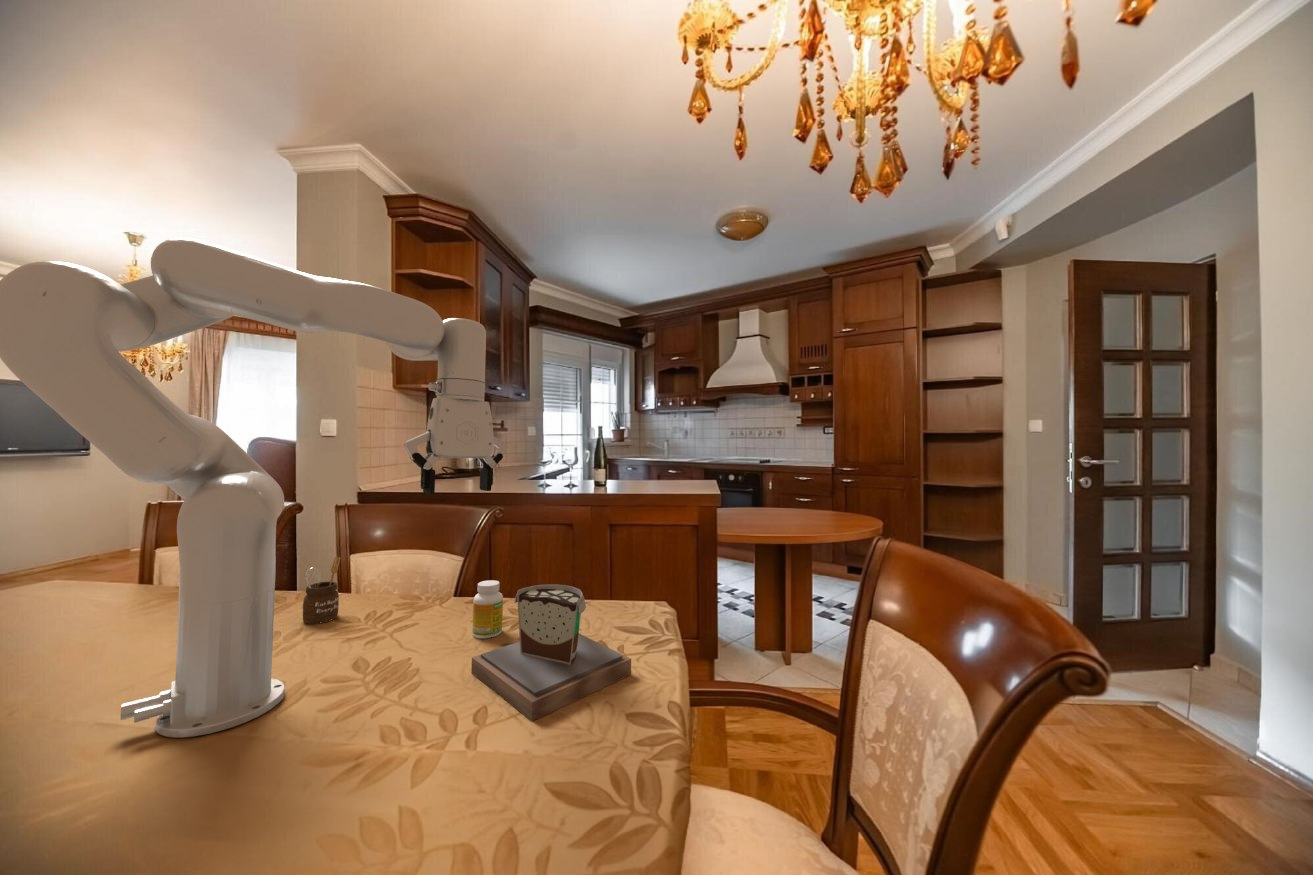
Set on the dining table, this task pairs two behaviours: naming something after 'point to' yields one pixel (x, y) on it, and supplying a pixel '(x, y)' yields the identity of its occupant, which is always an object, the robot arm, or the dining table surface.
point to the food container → (550, 621)
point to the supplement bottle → (487, 610)
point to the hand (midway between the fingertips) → (458, 491)
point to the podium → (549, 676)
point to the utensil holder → (321, 599)
